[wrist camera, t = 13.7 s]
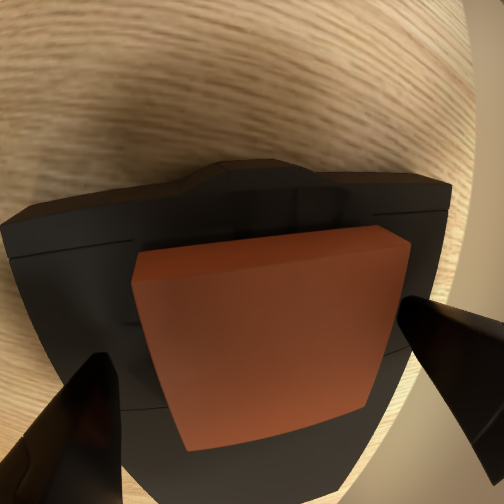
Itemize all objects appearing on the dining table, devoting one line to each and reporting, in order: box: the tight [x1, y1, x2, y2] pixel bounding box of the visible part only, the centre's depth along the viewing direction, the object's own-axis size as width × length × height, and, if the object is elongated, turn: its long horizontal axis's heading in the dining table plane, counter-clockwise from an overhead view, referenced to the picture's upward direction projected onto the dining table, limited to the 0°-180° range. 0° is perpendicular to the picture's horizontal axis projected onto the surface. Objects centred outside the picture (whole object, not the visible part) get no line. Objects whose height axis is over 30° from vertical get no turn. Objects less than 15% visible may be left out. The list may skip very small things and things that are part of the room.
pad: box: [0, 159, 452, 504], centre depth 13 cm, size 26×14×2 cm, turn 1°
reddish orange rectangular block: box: [131, 225, 411, 451], centre depth 8 cm, size 6×6×4 cm
